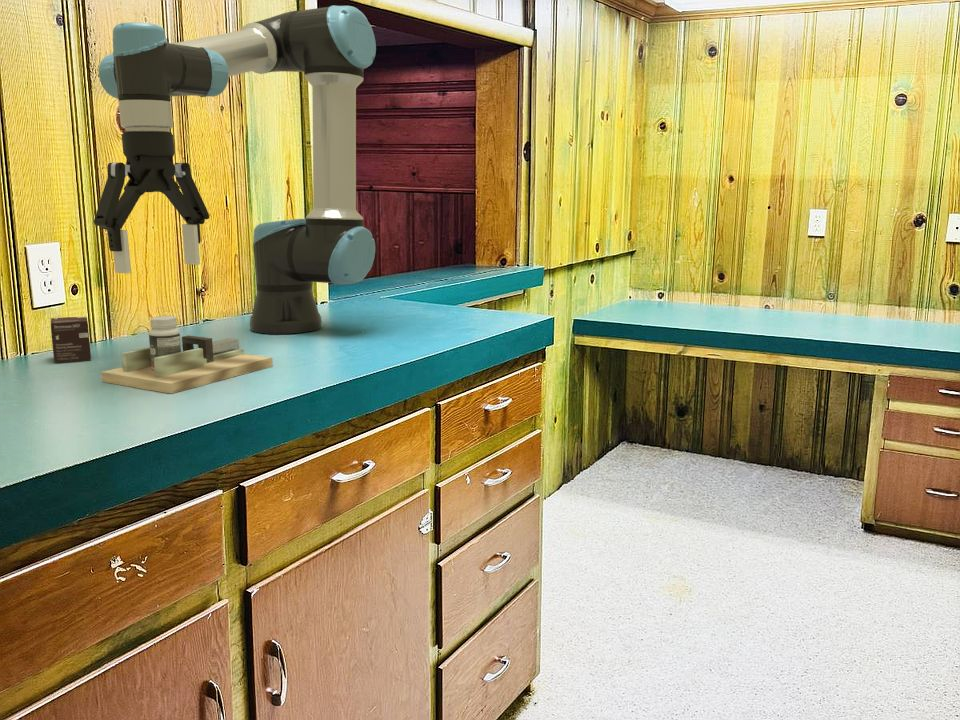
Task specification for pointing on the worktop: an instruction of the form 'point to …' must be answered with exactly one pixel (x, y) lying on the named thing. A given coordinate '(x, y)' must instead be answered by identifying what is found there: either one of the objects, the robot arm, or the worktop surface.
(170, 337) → the pill bottle
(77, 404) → the worktop surface
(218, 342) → the pin
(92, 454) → the worktop surface
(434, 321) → the worktop surface
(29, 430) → the worktop surface
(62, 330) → the box
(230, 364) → the mount
